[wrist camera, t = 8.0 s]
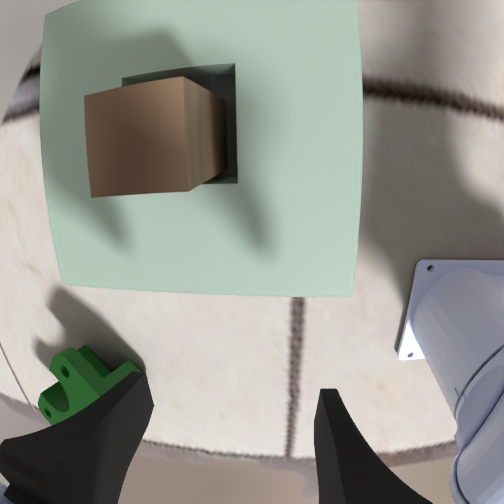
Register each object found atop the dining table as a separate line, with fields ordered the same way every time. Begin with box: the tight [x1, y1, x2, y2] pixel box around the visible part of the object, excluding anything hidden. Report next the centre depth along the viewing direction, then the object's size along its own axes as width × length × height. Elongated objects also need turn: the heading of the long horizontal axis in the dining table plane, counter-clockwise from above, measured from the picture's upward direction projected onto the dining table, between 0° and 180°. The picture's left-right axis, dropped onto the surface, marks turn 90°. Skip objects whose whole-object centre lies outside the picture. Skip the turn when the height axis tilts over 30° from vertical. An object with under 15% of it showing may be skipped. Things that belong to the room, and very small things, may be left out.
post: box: [84, 76, 228, 198], centre depth 14 cm, size 4×4×8 cm
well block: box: [40, 0, 363, 297], centre depth 16 cm, size 18×18×4 cm
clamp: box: [38, 345, 148, 425], centre depth 24 cm, size 12×6×9 cm, turn 138°
